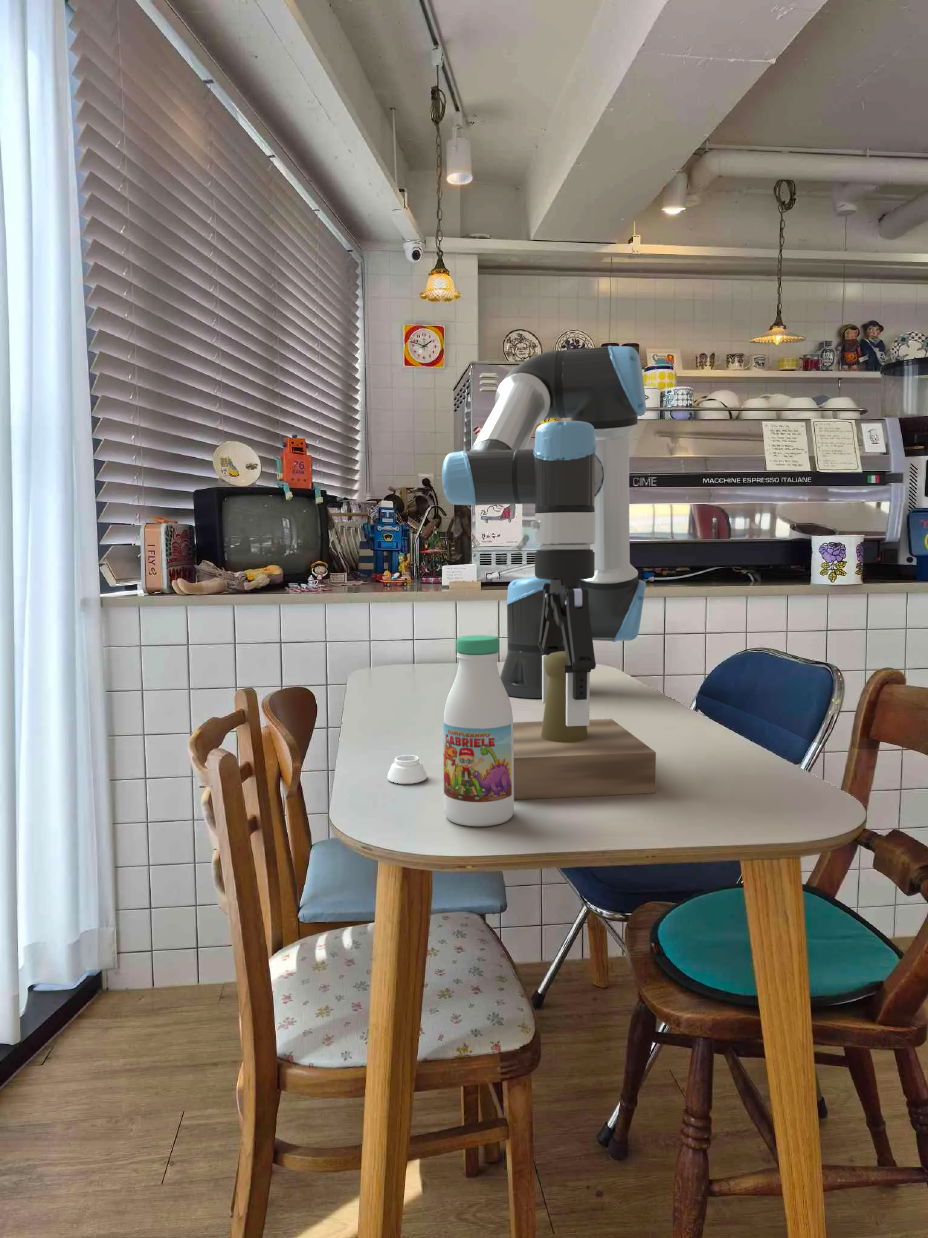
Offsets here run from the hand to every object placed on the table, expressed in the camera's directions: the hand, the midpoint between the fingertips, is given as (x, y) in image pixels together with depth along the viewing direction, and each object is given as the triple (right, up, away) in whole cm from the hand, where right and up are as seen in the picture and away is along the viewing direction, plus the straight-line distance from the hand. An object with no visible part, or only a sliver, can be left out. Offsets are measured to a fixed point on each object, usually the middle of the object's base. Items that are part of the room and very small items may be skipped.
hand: (564, 713), depth 104 cm
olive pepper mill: (0, -3, 0) cm, 3 cm away
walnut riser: (0, -8, +1) cm, 8 cm away
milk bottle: (-11, -10, -15) cm, 21 cm away
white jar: (-20, -9, -1) cm, 22 cm away
